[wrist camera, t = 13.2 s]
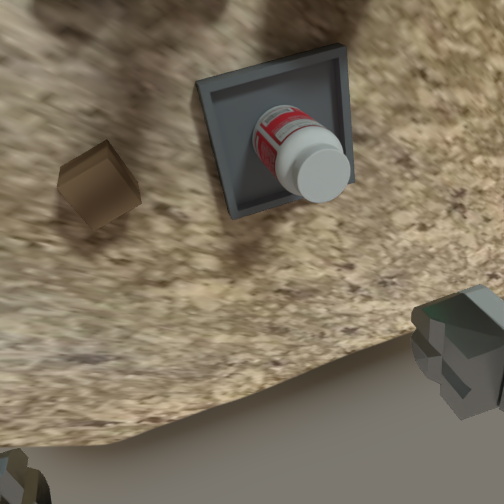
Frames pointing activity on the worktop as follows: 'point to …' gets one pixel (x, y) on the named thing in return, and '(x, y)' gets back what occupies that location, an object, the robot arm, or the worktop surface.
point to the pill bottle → (301, 154)
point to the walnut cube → (99, 185)
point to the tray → (261, 100)
